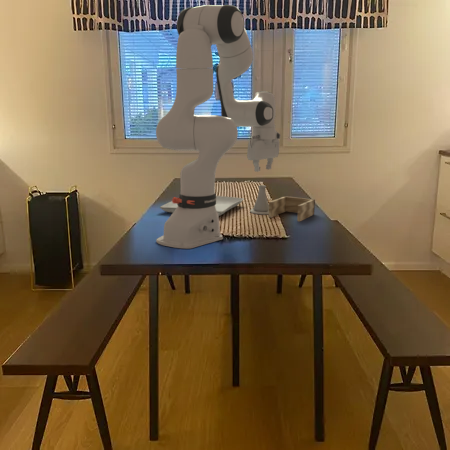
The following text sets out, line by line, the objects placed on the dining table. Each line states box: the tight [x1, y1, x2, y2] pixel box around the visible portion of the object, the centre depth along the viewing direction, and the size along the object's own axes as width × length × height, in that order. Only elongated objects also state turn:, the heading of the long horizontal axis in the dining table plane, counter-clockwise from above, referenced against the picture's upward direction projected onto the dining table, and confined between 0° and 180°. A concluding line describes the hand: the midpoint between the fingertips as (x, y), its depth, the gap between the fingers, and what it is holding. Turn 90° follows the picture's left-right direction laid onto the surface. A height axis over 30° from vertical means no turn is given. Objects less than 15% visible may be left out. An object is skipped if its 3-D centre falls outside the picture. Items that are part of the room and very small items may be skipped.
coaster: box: [249, 208, 269, 215], centre depth 189 cm, size 10×10×1 cm
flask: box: [252, 184, 269, 211], centre depth 188 cm, size 7×7×10 cm
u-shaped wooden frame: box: [268, 195, 316, 222], centre depth 181 cm, size 14×13×6 cm
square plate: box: [159, 195, 245, 216], centre depth 193 cm, size 27×27×4 cm
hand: (263, 170), depth 184 cm, fingers open, 8 cm apart
